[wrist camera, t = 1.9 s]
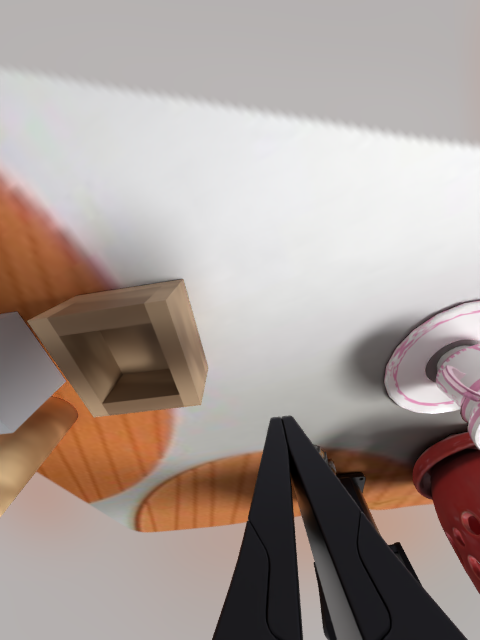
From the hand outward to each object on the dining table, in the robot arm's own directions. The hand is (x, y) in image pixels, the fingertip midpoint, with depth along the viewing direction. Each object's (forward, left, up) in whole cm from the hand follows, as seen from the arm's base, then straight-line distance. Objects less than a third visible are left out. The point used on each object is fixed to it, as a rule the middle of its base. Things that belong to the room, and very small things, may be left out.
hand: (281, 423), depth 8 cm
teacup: (-7, -16, -9) cm, 20 cm away
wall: (0, +19, -9) cm, 21 cm away
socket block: (0, +9, -9) cm, 13 cm away
